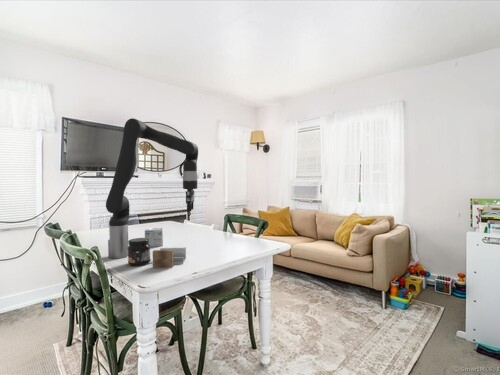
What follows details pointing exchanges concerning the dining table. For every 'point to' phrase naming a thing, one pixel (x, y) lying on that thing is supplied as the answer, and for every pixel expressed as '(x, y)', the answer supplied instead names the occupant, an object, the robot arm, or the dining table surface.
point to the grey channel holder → (177, 254)
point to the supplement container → (138, 252)
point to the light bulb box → (154, 236)
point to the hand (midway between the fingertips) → (190, 210)
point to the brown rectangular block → (163, 259)
